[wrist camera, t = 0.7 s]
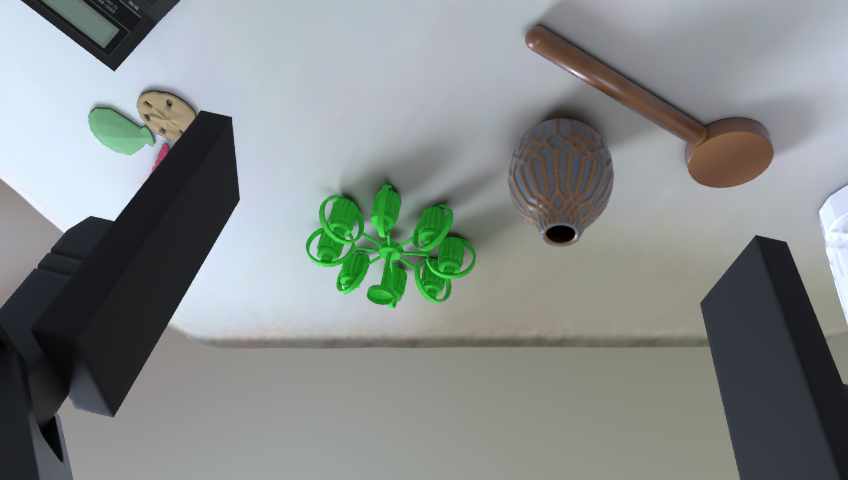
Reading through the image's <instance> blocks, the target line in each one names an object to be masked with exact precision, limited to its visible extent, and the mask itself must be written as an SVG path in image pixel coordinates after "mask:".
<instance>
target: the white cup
mask: <svg viewBox="0 0 848 480" xmlns="http://www.w3.org/2000/svg"><path fill="white" fill-rule="evenodd" d="M819 217H820V226H821V229H822V232H823V236H824V239H825V242H826V245H825V247H826V252H827V255H828V258H829V263H830V266H831V270H832V273H833V276H834V282H835V285H836V288H837V292H838V295H839V298H840V302H841V305H842V308H843V311H844V315H845V318H846V321H847V325H848V185H846V186H845V187H843V188H842V189H840V190H838V191H837V192H835V193H834V194H832V195H831V196H830V197H828V199H827V200H826V202H825V203H824V205H823V206H822V207H821V209H820V210H819Z"/></svg>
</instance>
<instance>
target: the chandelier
mask: <svg viewBox="0 0 848 480" xmlns="http://www.w3.org/2000/svg"><path fill="white" fill-rule="evenodd" d="M329 200H337V201H336V202H335V203H334V204H333V207H332V211H331V214H330V217H329V220H328V224H327V222H326V219H325V214H324V210H325V205H326V203H327V202H328V201H329ZM400 205H401V199H400V197H399V195H398V194H397V193H395V192H394V191H393V189H392V186H391V185H383V187H382V190H381V191H380V192H379V193H378V194H377V195H376V197H375V200H374V204H373V208H372V213H371V216H372V224H373V225H374V226H375V227H376V229H377V230H378V234H379V236H380V237H387V241H383V242H381V243H379V242H378V241H376V240H375V239H373V238H372V237H370V236H369V235H367V234H366V233H364V232H363V231H364V222H363V218H362V215H361V213H360V211H359V209H358V208H357V206H356V204H355V203H353V202H352V201H350V200H349V199H347V198H345V197H343V196H339V195H335V196H331V197H329V198H328V199H326V200H325V201H324V202H323V203H322V204H321V206H320V210H319V217H320V222H321V224H322V227H323V228H320V229H318V230H317V231H315V232H314V233H313V234H312V235H311V236H310V237H309V239H308V240H307V243H306V250H307V254H308V256H309V258H310V259H311V261H312V262H314V263H315V264H317V265H320V266H324V267H332V266H337V265H340V264H342V263H343V266H342V269H341V271H340V273H339V276H338V279H337V289H338V290H339V291H340V292H342V293H344V294H347V293H350V292H351V291H353V290H354V289H355V288H358V287H359V286H360V283H361V282H362V281H363V278H364V277H365V275H366V273H367V270H368V267H369V265H370V264H371V263H373V262H375V261H377V260H379V259H380V258H384V259H386V263H385V267H384V272H383V276H382V281H381V285H373V286H371V287H370V288H369V289H368V292H367V297H368V299H369V300H370V301H372V302H374V303H376V304H381V305H386V304H388V307H389V308H395V306H396V303H397V301H399V300H401V298H402V295H403V294H404V291H405V285H406V280H407V275H406V272H405V271H404V270H402V269H400V265H399V264H396V263H393V261H392V260H397V259H400V260H401V261H403V262H404V263H406V264H407V265H409V266H410V267H412V268H413V269H415V280H416V284H417V287H418V289H419V290H420V292H421V293H422V295H423V296H424V297H425V298H426V299H427V300H429V301H431V302H433V303H440V302H442V301H445V300H446V299H447V298H448V297H449V296H450V293H451V281H450V279H456V278H460V277H463V276H465V275H466V274H468V273H469V272H470V271H471V270H472V269H473V267H474V264H475V251H474V249H473V247H472V246H471V245H470V244H469V243H468V242H467V241H465V240H464V239H461V238H458V237H445V236H446V235H447V233H448V232H449V230H450V227H451V225H452V221H453V212H452V210H451V209H450V208H449V207H447V206H446V205H443V204H440V205H437V206H435V207H428V208H427V209H425V210H424V211H423V212H422V215H421V220H420V221H419V223H418V224H417V226H416V228H415V231H414V234H413V237H412V238H410V239H409V240H407V241H405V242H403V243H401V244H398V243H396V242H393V241H390V233H389V231H390V229H391V228H393V227H394V224H395V222H396V221H397V218H398V214H399V210H400ZM343 207H344V208H343ZM443 209H447V215H446V213H445V212H444V211H443ZM437 212H438V213H437ZM356 217H357V220H358V223H359V232H358V235H357V237H356V238H355V239H354V238H353V236H352V234H351V233H350V232H351V231H352V230H353V227H354V224H355V220H356ZM436 218H437V219H436ZM328 225H329V226H328ZM321 233H322V234H321ZM319 234H321V237H320V240H319V243H318V246H317V250H318V252H317V256H318V258H319V259H320V260H321V261H319V260H317V259H315V258H314V257H313V256H312V255H311V254H310V252H309V247H310V244H311V242H312V240H313V239H314V238H315V237H316V236H318V235H319ZM362 235H363V236H365V237H366V238H368V239H369V240H371V241H372V242H374V243H375V244H377V245H378V249H373V248H362V247H355V243H354V242H355V241H357V240H358V239H359V238H360V237H361V236H362ZM419 235H420V236H419ZM347 236H349V237H350V239H351V240H345V239H346V238H345V237H347ZM418 238H419V239H420V241H421V242H422V243H423V244H424V245H425V246H423V247H419V244H418ZM411 241H413V245H414V246H415V247H416V248H417V249H419V250H420V251H423V252H425V251H427V254H426V253H416V252H405V251H403V248H402V246H404V245H405V244H407V243H409V242H411ZM454 242H455V243H454ZM351 243H352V246H351V249H350V251H349V252H348V253H347V254H346V255H345V256H344V257H343V258H341V259H339V260H338V257H339V256H340V254H341V253H342V249H343V246H344V244H351ZM439 244H440V249H439V255H438V261H437V260H435V259H433V258H429V254H430V252H431V250H432V249H433V248H435V247H436V246H437V245H439ZM464 245H465V246H466V247H467V248H468V249H469V250H470V251H471V253H472V255H473V261H472V263H471V265H470V266H469V267H468V268H467V269H466V270H464V271H463V272H460V273H458V272H459V271H460V268H461V266H462V264H463V255H464ZM354 249H355V250H365V251H376V252H379V254H380V256H378V257H377V258H375V259H373V260H371V261H370V259H369V256H368V255H367V254H366V253H364V252H362V251H360V252H357V253H355V254H353V252H354ZM401 254H407V255H418V256H427V258H426V259H424V260H422V261H420V262H419V263H418V264H417V266H416V267H415V266H414V265H412V264H411V263H409V262H408V261H406V260H405V259H403V258H402V257H400V255H401ZM363 256H364V257H363ZM356 261H357V262H356ZM423 262H427V264H426V265H425V266H424V268H423V273H422V279H420V267H421V265H422V263H423ZM389 264H390V267H391V268H389ZM445 281H446V294H445V296H444V298H443V299H440V300H439V299H435V298H436V296H439V295H440V294H441V293H442V290H443V288H444V286H445ZM342 285H344V288H345V289H343V290H342Z"/></svg>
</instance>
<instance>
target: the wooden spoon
mask: <svg viewBox="0 0 848 480" xmlns="http://www.w3.org/2000/svg"><path fill="white" fill-rule="evenodd" d="M525 42H526V45H527V47H528V48H529V49H531V50H532V51H534V52H536V53H537V54H539V55H541V56H542V57H544V58H546V59H547V60H549V61H551V62H553V63H554V64H556V65H558V66H559V67H561V68H563V69H564V70H566V71H568V72H569V73H571V74H573V75H574V76H576V77H578V78H579V79H581V80H583V81H584V82H586V83H588V84H589V85H591V86H593V87H594V88H596V89H598V90H600V91H601V92H603V93H605V94H606V95H608V96H610V97H611V98H613V99H615V100H616V101H618V102H620V103H621V104H623V105H625V106H626V107H628V108H630V109H631V110H633V111H635V112H636V113H638V114H640V115H641V116H643V117H645V118H647V119H648V120H650V121H652V122H653V123H655V124H657V125H658V126H660V127H662V128H663V129H665V130H667V131H668V132H670V133H672V134H673V135H675V136H677V137H678V138H680V139H682V140H683V141H685V142H687V143H688V144H687V146H686V150H685V157H686V162H687V167H688V171H689V174H690V175H691V177H692V178H693V179H694V180H695V181H697V182H698V183H700V184H702V185H705V186H708V187H715V188H726V187H733V186H737V185H741V184H744V183H746V182H749V181H751V180H753V179H754V178H756V177H758V176H759V175H760V174H762V173H763V172H764V171H765V170H766V169H767V168H768V166H769V165H770V163H771V161H772V159H773V154H774V150H773V146H772V143H771V140H770V137H769V134H768V132H767V130H766V129H765V128H764V126H762V125H761V124H760V123H758V122H756V121H753V120H750V119H746V118H729V119H723V120H719V121H716V122H714V123H711V124H709V125H707V126H705V127H704V126H702V125H701V124H699V123H698V122H696V121H694V120H693V119H691V118H689V117H688V116H686V115H685V114H683V113H681V112H680V111H678V110H676V109H675V108H673V107H672V106H670V105H668V104H667V103H665V102H663V101H662V100H660V99H658V98H657V97H655V96H654V95H652V94H650V93H649V92H647V91H645V90H644V89H642V88H641V87H639V86H637V85H636V84H634V83H632V82H631V81H629V80H628V79H626V78H624V77H623V76H621V75H619V74H618V73H616V72H615V71H613V70H611V69H610V68H608V67H606V66H605V65H603V64H602V63H600V62H598V61H597V60H595V59H593V58H592V57H590V56H589V55H587V54H585V53H584V52H582V51H580V50H579V49H577V48H575V47H574V46H572V45H571V44H569V43H567V42H566V41H564V40H562V39H561V38H559V37H558V36H556V35H554V34H553V33H551V32H549V31H548V30H546V29H545V28H543V27H540V26H536V27H533V28H531V29H530V30H528V32H527V34H526V36H525Z"/></svg>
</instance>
